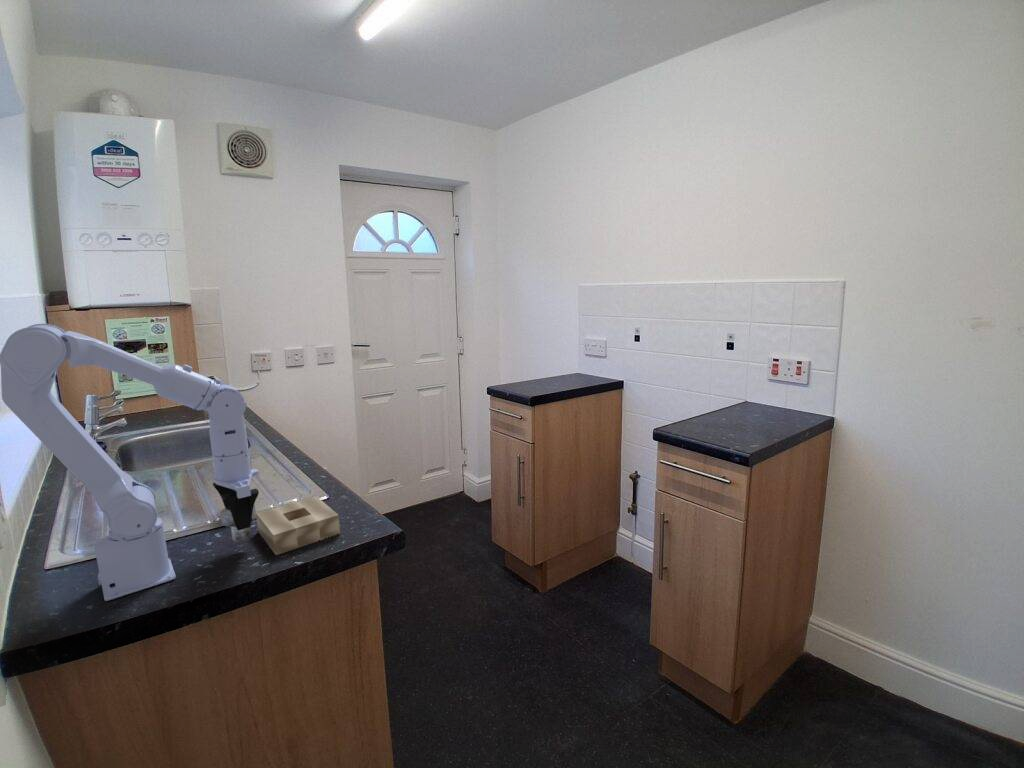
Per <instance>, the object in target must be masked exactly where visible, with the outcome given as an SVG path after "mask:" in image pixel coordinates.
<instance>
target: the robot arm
mask: <svg viewBox="0 0 1024 768" xmlns="http://www.w3.org/2000/svg"><path fill="white" fill-rule="evenodd" d="M66 360H69V361H68V368H73V367H74V368H75V367H88V366H96V367H97V366H98V367H99V368H103V369H104V370H105V369H106V370H109V371H111V372H114V373H118V374H121V375H124V376H125V377H129V378H132V379H134V380H138V381H140V382H143V383H147V384H149V385H151V386H153V388H154V391H155V393H156V395H157V396H158V397H161V398H163V399H167V400H169V401H172V402H174V403H177V404H179V405H182V406H185V407H189V408H190V409H192V410H196V411H206V412H207V413H208V419H209V420H208V421H209V429H208V430H209V431H208V432H209V440H210V446H211V447H210V448H211V455H212V465H213V468H214V470H213V471H214V478H213V480H214V482H213V483H212V486H213V487H214V489H215V490H216V491H217V493H218V494H219V496H220V498H221V500H222V503H223V505H224V508H226V507H229V509H230V511H231V514H232V517H233V521H234V524H235V526H236V528H237V530H242V529H246V528H249V527H250V528H251V526H252V521H251V520H252V512H253V507H254V505H255V503H256V502H257V501H256V500H257V499H258V497H259V493H260V492H259V491H260V490H259V489H258V488H252V489H251V481H252V480H253V477H255V476H258V475H259V473H260V472H259V470H258V469H257V468H252V469H251V466H250V457H251V456H250V451H249V443H248V434H247V426H246V423H245V415H244V413H245V412H246V409H247V402H246V400H245V398H244V396H243V395H242V393H240V392H239V390H237V389H236V388H235V387H234V386H232V385H230V383H227V382H222V380H221V379H219V378H217V377H214V378H213V379H212V378H210V377H207V376H205V375H202V374H201V373H197V372H196V371H193V369H194V368H193V367H192V365H191V366H190V365H188V364H183V365H182V366H181V365H179V364H172V365H167V366H161V365H160V366H159V365H157V364H155V363H152V362H150V361H148V360H146V359H143V358H141V357H139V356H136V355H135V354H132V353H130V352H127V351H125V350H123V349H120V348H118V347H116V346H113V345H111V344H109V343H107V342H105V341H102V340H100V339H97V338H94V337H91V336H88V335H86V334H82V333H79V332H77V331H71V330H67V331H66V330H64V329H63V328H61V327H59V326H57V325H53V324H49V323H35V324H31V325H29V326H27V327H23V328H20V329H17V330H16V331H15V332H13V333H12V334H10V335H9V337H8V338H7V339H6V341H5V343H4V345H3V347H2V349H1V351H0V378H1V379H0V383H1V388H0V389H1V399H2V401H3V403H4V404H5V405H6V407H7V408H9V410H10V411H12V413H13V414H14V415H15V416H16V417H17V418H18V419H19V420H20V421H21V422H22V423H23V424H24V425H25V426H26V428H28V430H30V431H31V433H33V435H35V437H37V438H38V440H39V441H40V442H41V443H42V444H43V445H45V447H46V448H47V449H48V450H49V451H50V452H51V453H52V454H53V455H54V456H55V457H56V458H57V459H58V460H59V462H61V463H62V464H63V465H64V466H65V468H66V469H67V470H69V472H70V473H72V475H73V476H74V477H75V478H76V479H77V480H78V481H79V482H80V483H81V484H82V485H83V486H84V487H85V488H86V490H88V491H89V492H90V493H91V495H92V496H93V499H94V501H95V503H96V505H97V506H98V509H99V510H100V511H101V512H102V513H103V514H104V515H105V517H106V521H107V527H108V529H109V530H108V535H106V536H104V537H102V538H99V539H95V540H94V550H95V551H94V552H95V555H96V556H95V557H96V562H97V568H98V573H97V580H98V584H99V586H101V589H102V594H103V599H104V601H105V602H107V601H111V600H115V599H118V598H120V597H123V596H127V595H129V594H132V593H136V592H139V591H142V590H145V589H148V588H151V587H154V586H158V585H160V584H163V583H167V582H170V581H172V580H175V579H176V578H177V577H176V573H175V570H174V567H173V564H172V561H171V558H169V553H168V548H167V541H166V535H165V530H164V522H163V520H162V519H161V518H160V517H158V511H157V509H156V498H157V497H156V494H155V492H154V490H153V489H152V488H151V487H150V486H148V485H146V484H143V483H141V482H138V481H136V480H135V479H134V478H133V477H132V476H131V474H128V473H127V472H126V471H123V470H122V469H121V468H120V467H119V465H118V464H116V462H115V461H114V460H113V459H112V458H111V456H109V454H107V452H106V451H105V450H104V449H103V448H102V447H101V446H100V445H99V444H98V443H97V441H95V439H94V438H93V437H92V436H91V435H90V433H89V432H87V431H86V429H85V428H84V427H83V426H82V425H81V424H80V423H79V422H78V421H77V419H76V418H75V417H74V416H73V415H72V413H70V412H69V411H68V409H67V408H65V406H64V405H63V404H62V403H61V402H60V401H59V400H58V399H57V397H56V396H55V395H54V394H53V393H52V389H53V385H54V382H55V379H56V376H57V371H58V369H59V368H60V367H61V366H62V364H64V362H65V361H66Z"/></svg>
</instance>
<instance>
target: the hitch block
mask: <svg viewBox="0 0 1024 768" xmlns="http://www.w3.org/2000/svg"><path fill="white" fill-rule="evenodd" d="M256 525H257V531H258V533H259V535H260V536H261V537H262V539H263V540H264V541H265V543H266V544H267V545H268V547H269V548H270V550H272V552H273V553H274V554H275V556H278V555H280V554H284V553H288V552H290V551H293V550H296V549H299V548H303V547H305V546H308V545H311V544H314V543H317V542H319V540H320V541H323V540H326V539H329V538H332V537H335V536H337V535H336V534H338V535H341V528H340V526H341V525H340V517H339V514H338V513H337V512H336V511H335V510H333V509H332V508H331V507H330V506H328V504H326V503H325V502H324V501H323V500H322V499H320V498H319V496H313V497H310V498H305V499H303V500H299V501H295V502H292V503H288V504H283V505H281V506H278V507H273V508H269V509H266V510H263V511H258V512H256ZM334 535H335V536H334ZM331 536H332V537H331ZM328 537H329V538H328ZM325 538H326V539H325Z"/></svg>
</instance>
